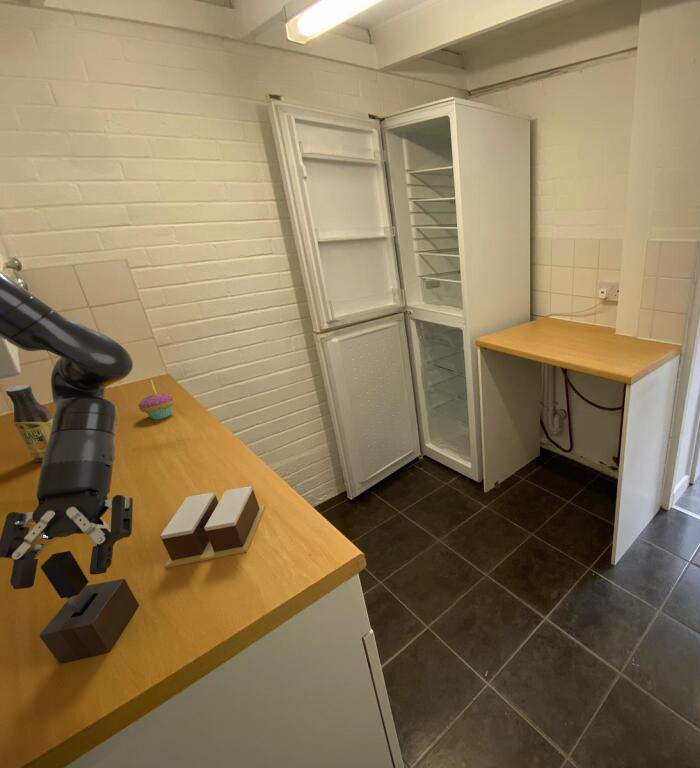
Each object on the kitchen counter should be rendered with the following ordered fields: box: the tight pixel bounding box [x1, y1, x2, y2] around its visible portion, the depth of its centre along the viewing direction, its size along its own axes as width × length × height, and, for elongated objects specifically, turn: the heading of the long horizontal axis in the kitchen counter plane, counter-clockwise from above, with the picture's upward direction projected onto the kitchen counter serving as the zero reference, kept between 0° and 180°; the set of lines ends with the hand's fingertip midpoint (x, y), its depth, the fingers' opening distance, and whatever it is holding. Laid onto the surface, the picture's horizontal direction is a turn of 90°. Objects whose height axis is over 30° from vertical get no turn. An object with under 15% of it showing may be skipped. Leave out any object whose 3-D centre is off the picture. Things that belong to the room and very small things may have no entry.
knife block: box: [38, 578, 140, 665], centre depth 62 cm, size 8×6×6 cm
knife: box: [40, 550, 95, 616], centre depth 60 cm, size 3×2×15 cm, turn 15°
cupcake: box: [138, 377, 175, 420], centre depth 127 cm, size 9×8×12 cm
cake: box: [160, 485, 266, 569], centre depth 80 cm, size 13×13×6 cm
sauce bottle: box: [5, 384, 53, 463], centre depth 105 cm, size 6×6×20 cm
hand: (61, 580), depth 57 cm, fingers open, 8 cm apart
